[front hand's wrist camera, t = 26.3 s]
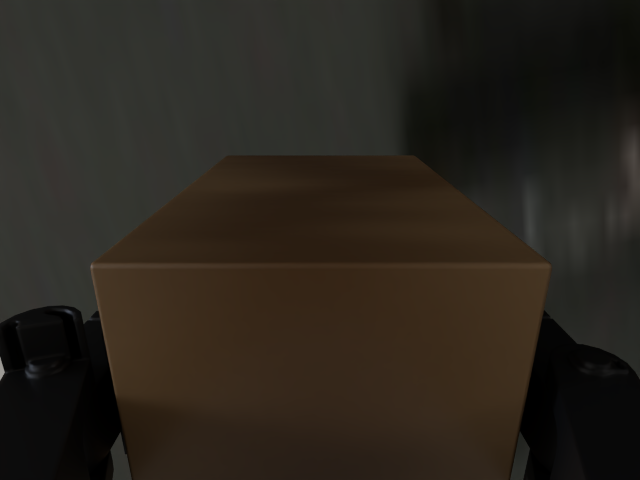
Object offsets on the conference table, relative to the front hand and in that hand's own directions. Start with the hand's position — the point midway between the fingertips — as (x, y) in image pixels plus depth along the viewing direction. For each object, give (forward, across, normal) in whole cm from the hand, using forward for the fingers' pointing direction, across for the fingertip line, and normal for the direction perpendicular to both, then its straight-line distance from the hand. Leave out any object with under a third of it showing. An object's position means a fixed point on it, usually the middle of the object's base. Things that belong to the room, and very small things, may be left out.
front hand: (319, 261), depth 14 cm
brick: (+1, 0, 0) cm, 1 cm away
